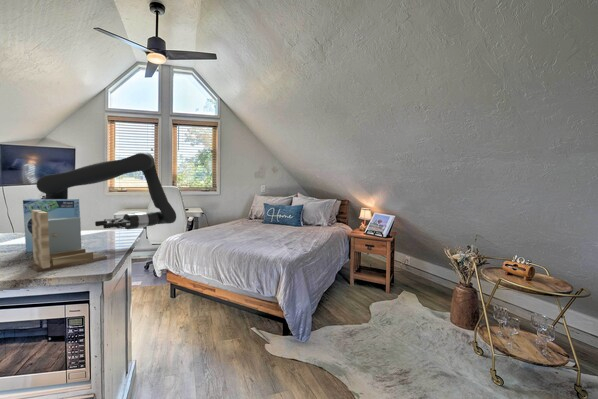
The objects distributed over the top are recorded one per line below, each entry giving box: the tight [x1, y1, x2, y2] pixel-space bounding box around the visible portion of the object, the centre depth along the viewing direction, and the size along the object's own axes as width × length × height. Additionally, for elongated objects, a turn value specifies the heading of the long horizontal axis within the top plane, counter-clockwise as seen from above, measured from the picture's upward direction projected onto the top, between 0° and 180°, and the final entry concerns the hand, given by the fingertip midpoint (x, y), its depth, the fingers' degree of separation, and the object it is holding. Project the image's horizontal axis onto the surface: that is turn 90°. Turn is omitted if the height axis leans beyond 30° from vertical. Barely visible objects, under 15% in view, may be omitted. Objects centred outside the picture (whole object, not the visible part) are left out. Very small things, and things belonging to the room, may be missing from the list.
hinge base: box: [28, 210, 108, 273], centre depth 118 cm, size 11×22×21 cm, turn 145°
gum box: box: [22, 198, 81, 253], centre depth 133 cm, size 20×5×23 cm, turn 103°
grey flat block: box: [48, 217, 82, 254], centre depth 125 cm, size 5×12×16 cm, turn 145°
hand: (99, 225), depth 136 cm, fingers open, 8 cm apart
